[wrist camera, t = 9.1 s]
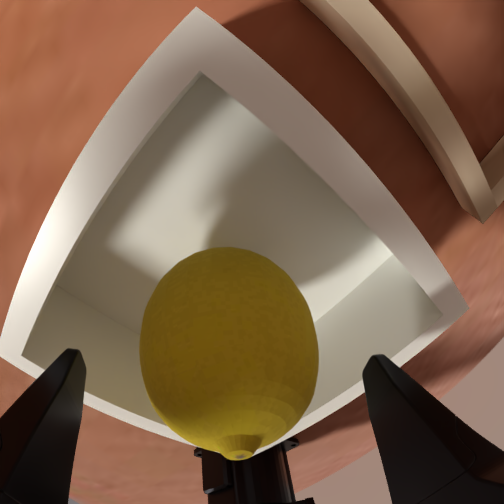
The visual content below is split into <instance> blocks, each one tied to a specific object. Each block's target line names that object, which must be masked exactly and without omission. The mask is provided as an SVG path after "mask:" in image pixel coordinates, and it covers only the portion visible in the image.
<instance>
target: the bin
mask: <svg viewBox="0 0 504 504" xmlns="http://www.w3.org/2000/svg"><path fill="white" fill-rule="evenodd" d="M217 247H235V248H240V249H246V250H251V251H253V252H255V253H258V254H260V255H262V256H264V257H267V258H268V259H270V260H271V261H272V262H274V263H275V264H276V265H278V266H279V267H280V268H281V269H283V270H284V271H285V272H286V273H287V274H288V275H289V276H290V278H291V279H292V280H293V282H294V283H295V285H296V286H297V287H298V289H299V290H300V292H301V293H302V295H303V296H304V298H305V300H306V302H307V304H308V306H309V309H310V312H311V315H312V318H313V322H314V326H315V331H316V335H317V341H318V349H319V368H318V376H317V382H316V387H315V392H314V396H313V398H312V401H311V403H310V405H309V407H308V408H307V410H306V411H305V413H304V414H303V416H302V417H301V419H300V420H299V422H298V423H297V424H296V425H295V426H294V427H293V428H292V429H291V430H290V431H289V432H287V433H286V434H285V435H284V436H282V437H281V438H280V439H278V440H277V441H275V442H273V443H271V444H270V445H267V446H265V447H262V448H259V449H257V450H256V452H255V453H254V454H253V455H252V456H254V455H256V454H258V453H260V452H262V451H264V450H266V449H268V448H270V447H272V446H274V445H276V444H278V443H280V442H282V441H284V440H286V439H288V438H290V437H291V436H293V435H295V434H297V433H299V432H301V431H302V430H304V429H306V428H308V427H310V426H311V425H313V424H315V423H316V422H318V421H320V420H322V419H323V418H325V417H327V416H328V415H330V414H332V413H333V412H335V411H336V410H338V409H340V408H341V407H343V406H344V405H346V404H348V403H349V402H351V401H352V400H354V399H355V398H357V397H358V396H360V395H361V394H363V393H364V392H365V389H364V384H363V378H362V372H363V369H364V367H365V366H366V364H367V362H368V360H369V358H370V357H371V356H372V355H375V354H384V355H385V356H387V357H388V358H389V359H390V360H391V361H392V362H394V363H395V364H396V365H397V366H398V367H401V366H402V365H403V364H405V363H406V362H407V361H409V360H410V359H411V358H412V357H414V356H415V355H416V354H417V353H419V352H420V351H421V350H422V349H424V348H425V347H426V346H427V345H429V344H430V343H431V342H432V341H433V340H435V339H436V338H437V337H438V336H439V335H440V334H442V333H443V332H444V331H445V330H446V329H447V328H449V327H450V326H451V325H452V324H453V323H454V322H455V321H456V320H457V319H459V318H460V317H461V316H462V315H463V314H464V313H465V312H466V311H467V310H468V309H469V307H468V305H467V303H466V302H465V300H464V298H463V296H462V295H461V293H460V292H459V290H458V288H457V287H456V285H455V283H454V282H453V280H452V279H451V277H450V276H449V274H448V272H447V271H446V269H445V268H444V266H443V265H442V263H441V262H440V260H439V259H438V257H437V256H436V254H435V253H434V251H433V250H432V248H431V247H430V246H429V244H428V243H427V241H426V240H425V238H424V237H423V236H422V234H421V233H420V231H419V230H418V229H417V227H416V226H415V225H414V223H413V222H412V221H411V219H410V218H409V217H408V215H407V214H406V213H405V211H404V210H403V209H402V207H401V206H400V205H399V203H398V202H397V201H396V200H395V198H394V197H393V196H392V194H391V193H390V192H389V191H388V189H387V188H386V187H385V186H384V184H383V183H382V182H381V181H380V180H379V178H378V177H377V176H376V175H375V174H374V172H373V171H372V170H371V169H370V168H369V166H368V165H367V164H366V163H365V162H364V161H363V159H362V158H361V157H360V156H359V155H358V154H357V153H356V152H355V150H354V149H353V148H352V147H351V146H350V145H349V144H348V143H347V141H346V140H345V139H344V138H343V137H342V136H341V135H340V134H339V133H338V132H337V131H336V130H335V128H334V127H333V126H332V125H331V124H330V123H329V122H328V121H327V120H326V119H325V118H324V117H323V116H322V115H321V114H320V113H319V112H318V111H317V110H316V109H315V108H314V107H313V106H312V105H311V104H310V103H309V102H308V101H307V100H306V99H305V98H304V97H303V96H302V95H301V94H300V93H299V92H298V91H297V90H296V89H295V88H294V87H293V86H292V85H291V84H289V83H288V82H287V81H286V80H285V79H284V78H283V77H282V76H281V75H280V74H279V73H278V72H276V71H275V70H274V69H273V68H272V67H271V66H270V65H269V64H267V63H266V62H265V61H264V60H263V59H262V58H261V57H259V56H258V55H257V54H256V53H255V52H254V51H252V50H251V49H250V48H249V47H248V46H246V45H245V44H244V43H243V42H242V41H240V40H239V39H238V38H237V37H235V36H234V35H233V34H232V33H230V32H229V31H228V30H227V29H225V28H224V27H223V26H221V25H220V24H219V23H218V22H216V21H215V20H214V19H212V18H211V17H210V16H208V15H207V14H206V13H204V12H203V11H201V10H200V9H199V8H197V7H195V8H194V9H193V10H192V11H191V12H190V13H189V14H188V15H187V16H186V17H185V18H184V19H183V20H182V21H181V22H180V23H179V25H178V26H177V27H176V28H175V29H174V30H173V31H172V32H171V33H170V34H169V35H168V36H167V37H166V39H165V40H164V41H163V42H162V43H161V44H160V45H159V47H158V48H157V49H156V50H155V51H154V52H153V53H152V55H151V56H150V57H149V58H148V59H147V61H146V62H145V63H144V64H143V66H142V67H141V68H140V69H139V70H138V72H137V73H136V74H135V75H134V77H133V78H132V79H131V81H130V82H129V83H128V85H127V86H126V87H125V88H124V90H123V91H122V93H121V94H120V95H119V97H118V98H117V99H116V101H115V102H114V103H113V105H112V106H111V108H110V109H109V111H108V112H107V113H106V115H105V116H104V118H103V119H102V121H101V122H100V124H99V125H98V127H97V128H96V130H95V131H94V133H93V134H92V136H91V138H90V139H89V141H88V142H87V144H86V145H85V147H84V149H83V150H82V152H81V154H80V155H79V157H78V159H77V160H76V162H75V164H74V165H73V167H72V169H71V171H70V172H69V174H68V176H67V178H66V180H65V181H64V183H63V185H62V187H61V189H60V191H59V193H58V194H57V196H56V198H55V200H54V202H53V204H52V206H51V208H50V210H49V212H48V214H47V216H46V218H45V220H44V223H43V225H42V227H41V229H40V231H39V233H38V236H37V238H36V240H35V242H34V245H33V247H32V249H31V252H30V254H29V256H28V259H27V261H26V264H25V266H24V269H23V271H22V274H21V277H20V279H19V282H18V285H17V287H16V290H15V293H14V296H13V299H12V302H11V305H10V308H9V311H8V314H7V317H6V320H5V324H4V327H3V330H2V334H1V337H0V357H2V358H3V359H5V360H6V361H8V362H9V363H11V364H13V365H14V366H16V367H17V368H19V369H21V370H22V371H24V372H26V373H27V374H29V375H31V376H32V377H34V378H36V379H37V378H38V377H39V376H40V375H41V374H42V373H43V372H44V371H45V370H46V369H47V368H48V367H49V366H50V365H51V364H52V363H53V362H54V361H55V360H56V359H57V358H58V356H59V355H60V354H61V353H62V352H63V351H64V350H66V349H67V348H73V349H78V350H80V351H81V353H82V356H83V359H84V362H85V365H86V370H87V373H86V382H85V390H84V400H83V403H84V404H86V405H88V406H90V407H92V408H94V409H96V410H99V411H101V412H103V413H105V414H108V415H110V416H112V417H115V418H117V419H120V420H122V421H124V422H127V423H129V424H132V425H135V426H137V427H140V428H142V429H145V430H148V431H151V432H153V433H156V434H159V435H162V436H165V437H168V438H171V439H174V440H177V441H180V442H183V443H186V444H190V445H193V446H196V445H194V444H192V443H190V442H188V441H186V440H185V439H183V438H182V437H180V436H179V435H177V434H176V433H175V432H173V431H172V430H171V429H170V428H169V427H168V426H167V425H166V424H165V423H164V422H163V420H162V419H161V418H160V417H159V415H158V414H157V413H156V411H155V409H154V408H153V406H152V405H151V402H150V400H149V397H148V395H147V391H146V388H145V384H144V381H143V376H142V372H141V366H140V357H139V341H140V333H141V326H142V320H143V315H144V311H145V308H146V306H147V303H148V301H149V299H150V297H151V295H152V293H153V292H154V290H155V288H156V286H157V285H158V283H159V281H160V280H161V279H162V277H163V276H164V275H165V274H166V273H167V272H168V271H169V270H171V269H172V268H173V267H174V266H175V265H176V264H177V263H178V262H179V261H181V260H183V259H185V258H187V257H188V256H190V255H192V254H194V253H196V252H199V251H203V250H207V249H211V248H217ZM196 447H198V446H196ZM200 448H201V447H200ZM214 452H215V451H214ZM218 453H220V452H218ZM252 456H251V457H252Z"/></svg>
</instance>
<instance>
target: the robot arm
mask: <svg viewBox="0 0 504 504" xmlns="http://www.w3.org/2000/svg"><path fill="white" fill-rule="evenodd" d="M86 373H87V370H86V365H85V362H84V359H83V356H82V353H81V351H80V350H78V349H73V348H67V349H66V350H64V351H63V352H62V353H61V354H60V355H59V356H58V358H57V359H56V360H55V361H54V362H53V363H52V364H51V365H50V366H49V367H48V368H47V369H46V370H45V371H44V372H43V373H42V374H41V375H40V376H39V377H38V378H37V379H36V380H35V381H34V382H33V383H32V384H31V385H30V386H29V387H28V388H27V390H26V391H25V392H24V393H23V394H22V395H21V396H20V397H19V398H18V399H17V400H16V401H15V402H14V403H13V405H12V406H11V407H10V408H9V409H8V410H7V411H6V412H5V413H4V414H3V415H2V417H1V418H0V504H68V498H69V490H70V482H71V475H72V469H73V462H74V456H75V450H76V445H77V439H78V434H79V429H80V424H81V418H82V410H83V400H84V390H85V382H86ZM362 378H363V384H364V389H365V395H366V400H367V406H368V412H369V416H370V420H371V424H372V427H373V431H374V434H375V438H376V442H377V445H378V449H379V453H380V456H381V460H382V464H383V467H384V472H385V475H386V479H387V483H388V487H389V492H390V496H391V500H392V504H504V451H502V450H501V449H499V448H498V447H497V446H495V445H494V444H492V443H491V442H489V441H488V440H486V439H485V438H484V437H482V436H481V435H479V434H478V433H477V432H476V431H474V430H473V429H472V428H470V427H469V426H468V425H467V424H465V423H464V422H463V421H462V420H461V419H459V418H458V417H457V416H455V414H454V413H452V412H451V411H450V410H449V409H448V408H447V407H445V406H444V405H443V404H442V403H441V402H440V401H438V400H437V399H436V398H435V397H434V396H433V395H431V394H430V393H429V392H428V391H427V390H425V389H424V388H423V387H422V386H421V385H420V384H418V383H417V382H416V381H415V380H414V379H413V378H411V377H410V376H409V375H408V374H407V373H405V372H404V371H403V370H402V369H401V368H400V367H398V366H397V365H396V364H395V363H394V362H392V361H391V360H390V359H389V358H388V357H387V356H385V355H384V354H375V355H372V356H371V357H370V358H369V360H368V362H367V364H366V366H365V367H364V369H363V372H362ZM298 445H299V441H298V439H295V438H291V437H290V438H288V439H286V440H284V441H282V442H280V443H278V444H276V445H274V446H272V447H270V448H268V449H266V450H264V451H262V452H260V453H258V454H256V455H254V456H252V457H250V458H248V459H244V460H229V459H227V458H225V457H224V456H223V455H222V454H221V453H218V452H214V451H211V450H206V449H203V448H200V447H199V448H197V449H195V450H194V456H196V457H200V458H202V476H203V491H204V493H205V494H208V504H315V503H314V500H313V497H312V498H307V499H305V500H301V501H296V500H295V495H294V490H293V485H292V480H291V475H290V470H289V465H288V460H287V455H286V452H287V451H289V450H291V449H293V448H295V447H297V446H298Z"/></svg>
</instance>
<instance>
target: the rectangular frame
mask: <svg viewBox="0 0 504 504" xmlns="http://www.w3.org/2000/svg"><path fill="white" fill-rule="evenodd" d="M299 1H301V2H302V3H303V4H304V5H305V6H306V7H307V8H308V9H309V10H310V11H312V12H313V13H314V14H315V15H316V16H317V17H318V18H319V19H320V20H321V21H322V22H323V23H324V24H325V25H326V26H327V27H328V28H329V29H330V30H331V31H332V32H333V33H334V34H335V35H336V36H337V37H338V38H339V39H340V40H341V41H342V42H343V43H344V44H345V45H346V46H347V47H348V48H349V50H350V51H351V52H352V53H353V54H354V55H355V56H356V57H357V58H358V59H359V61H360V62H361V63H362V64H363V65H364V66H365V67H366V69H367V70H368V71H369V72H370V73H371V74H372V76H373V77H374V78H375V79H376V80H377V82H378V83H379V84H380V85H381V87H382V88H383V89H384V90H385V92H386V93H387V94H388V95H389V97H390V98H391V99H392V100H393V102H394V103H395V104H396V106H397V107H398V108H399V110H400V111H401V112H402V114H403V115H404V116H405V118H406V119H407V121H408V122H409V123H410V125H411V126H412V128H413V129H414V131H415V132H416V133H417V135H418V136H419V138H420V139H421V141H422V142H423V144H424V145H425V147H426V148H427V150H428V151H429V153H430V154H431V156H432V158H433V159H434V161H435V162H436V164H437V166H438V167H439V169H440V171H441V172H442V174H443V176H444V177H445V179H446V181H447V182H448V184H449V186H450V188H451V189H452V191H453V193H454V195H455V196H456V198H457V200H458V202H459V204H460V206H461V208H463V209H464V210H465V211H467V212H468V213H469V214H471V215H472V216H473V217H475V218H476V219H477V220H478V221H480V222H481V223H482V224H483V223H484V222H485V221H486V220H487V219H488V218H489V217H490V216H491V214H492V213H493V212H494V211H495V210H496V209H497V208H498V206H499V205H500V204H501V203H502V202H503V201H504V135H503V137H502V138H501V139H500V140H499V141H498V143H497V144H496V145H495V146H494V147H493V149H492V150H491V151H490V152H489V153H488V154H487V156H486V157H485V158H484V159H483V160H482V161H481V162H480V164H479V163H478V161H477V159H476V157H475V154H474V152H473V150H472V148H471V147H470V145H469V143H468V141H467V139H466V137H465V135H464V133H463V131H462V129H461V128H460V126H459V124H458V122H457V121H456V119H455V117H454V115H453V114H452V112H451V110H450V109H449V107H448V105H447V104H446V102H445V100H444V99H443V97H442V95H441V94H440V92H439V91H438V89H437V88H436V86H435V85H434V83H433V82H432V80H431V79H430V77H429V76H428V74H427V73H426V71H425V70H424V68H423V67H422V66H421V64H420V63H419V61H418V60H417V59H416V57H415V56H414V55H413V53H412V52H411V51H410V49H409V48H408V47H407V45H406V44H405V43H404V41H403V40H402V39H401V38H400V36H399V35H398V34H397V33H396V31H395V30H394V29H393V28H392V27H391V25H390V24H389V23H388V22H387V21H386V19H385V18H384V17H383V16H382V15H381V14H380V13H379V11H378V10H377V9H376V8H375V7H374V6H373V5H372V4H371V3H370V2H369V0H299Z"/></svg>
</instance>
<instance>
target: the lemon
mask: <svg viewBox="0 0 504 504" xmlns="http://www.w3.org/2000/svg"><path fill="white" fill-rule="evenodd" d="M139 357H140V366H141V372H142V376H143V381H144V384H145V388H146V391H147V395H148V397H149V400H150V402H151V405H152V406H153V408H154V409H155V411H156V413H157V414H158V415H159V417H160V418H161V419H162V420H163V422H164V423H165V424H166V425H167V426H168V427H169V428H170V429H171V430H172V431H173V432H175V433H176V434H177V435H179V436H180V437H182V438H183V439H185V440H186V441H188V442H190V443H192V444H194V445H196V446H198V447H201V448H203V449H206V450H211V451H215V452H220V453H221V454H222V455H223V456H224V457H225V458H227V459H229V460H244V459H248V458H250V457H251V456H252V455H253V454H254V453H255V452H256V450H257V449H259V448H262V447H265V446H267V445H270V444H271V443H273V442H275V441H277V440H278V439H280V438H281V437H282V436H284V435H285V434H286V433H287V432H289V431H290V430H291V429H292V428H293V427H294V426H295V425H296V424H297V423H298V422H299V420H300V419H301V417H302V416H303V414H304V413H305V411H306V410H307V408H308V407H309V405H310V403H311V401H312V398H313V396H314V392H315V387H316V382H317V376H318V368H319V349H318V341H317V335H316V331H315V326H314V322H313V318H312V315H311V312H310V309H309V306H308V304H307V302H306V300H305V298H304V296H303V295H302V293H301V292H300V290H299V289H298V287H297V286H296V285H295V283H294V282H293V280H292V279H291V278H290V276H289V275H288V274H287V273H286V272H285V271H284V270H283V269H281V268H280V267H279V266H278V265H276V264H275V263H274V262H272V261H271V260H270V259H268V258H267V257H264V256H262V255H260V254H258V253H255V252H253V251H251V250H246V249H240V248H235V247H217V248H211V249H207V250H203V251H199V252H196V253H194V254H192V255H190V256H188V257H187V258H185V259H183V260H181V261H179V262H178V263H177V264H176V265H175V266H174V267H173V268H172V269H171V270H169V271H168V272H167V273H166V274H165V275H164V276H163V277H162V279H161V280H160V281H159V283H158V285H157V286H156V288H155V290H154V292H153V293H152V295H151V297H150V299H149V301H148V303H147V306H146V308H145V311H144V315H143V320H142V326H141V333H140V341H139Z"/></svg>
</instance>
